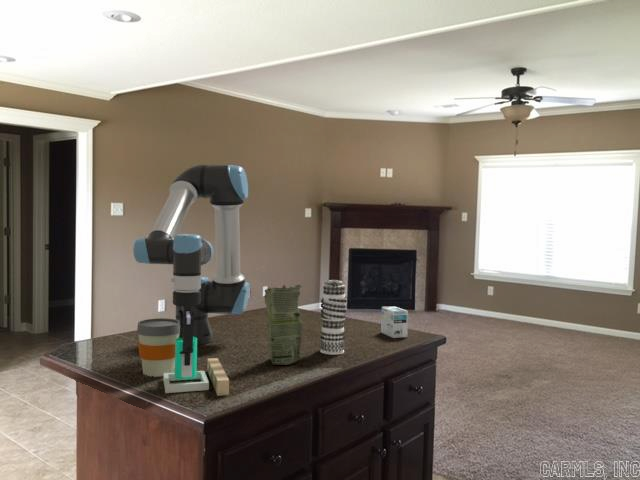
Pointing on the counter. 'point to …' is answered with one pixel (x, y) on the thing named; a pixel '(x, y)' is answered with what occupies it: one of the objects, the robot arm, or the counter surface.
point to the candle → (179, 359)
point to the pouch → (283, 324)
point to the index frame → (185, 386)
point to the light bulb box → (394, 322)
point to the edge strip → (218, 377)
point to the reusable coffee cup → (157, 345)
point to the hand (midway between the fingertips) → (185, 373)
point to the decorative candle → (333, 317)
